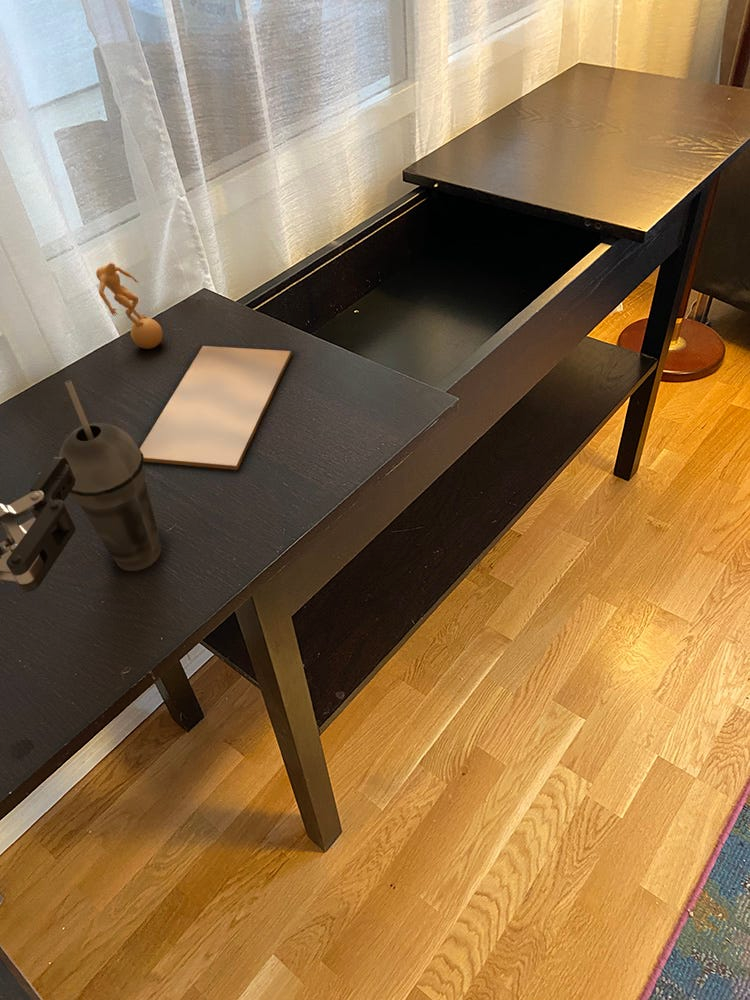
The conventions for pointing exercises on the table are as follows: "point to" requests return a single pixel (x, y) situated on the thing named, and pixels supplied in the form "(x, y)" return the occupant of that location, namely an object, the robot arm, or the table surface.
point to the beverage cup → (112, 489)
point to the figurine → (129, 307)
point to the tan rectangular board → (216, 408)
